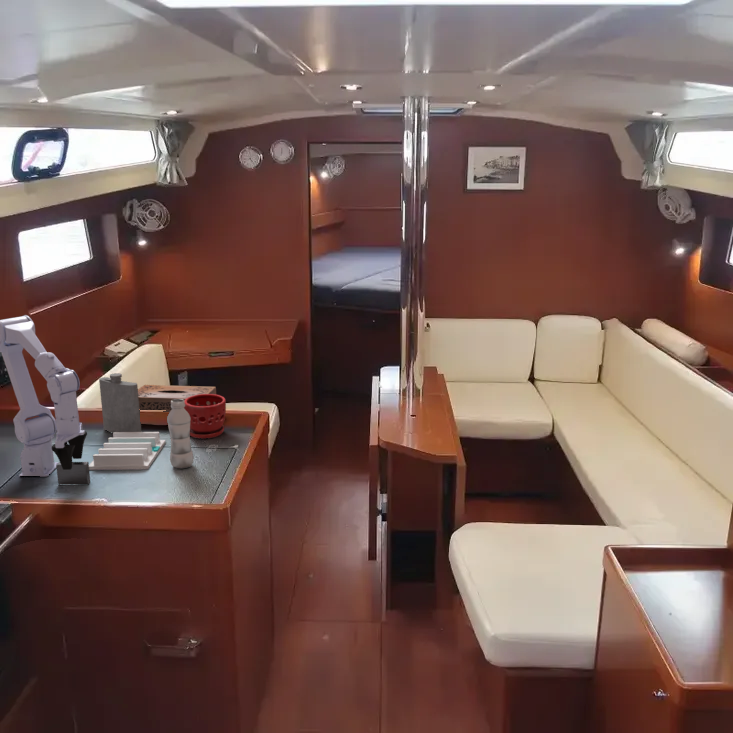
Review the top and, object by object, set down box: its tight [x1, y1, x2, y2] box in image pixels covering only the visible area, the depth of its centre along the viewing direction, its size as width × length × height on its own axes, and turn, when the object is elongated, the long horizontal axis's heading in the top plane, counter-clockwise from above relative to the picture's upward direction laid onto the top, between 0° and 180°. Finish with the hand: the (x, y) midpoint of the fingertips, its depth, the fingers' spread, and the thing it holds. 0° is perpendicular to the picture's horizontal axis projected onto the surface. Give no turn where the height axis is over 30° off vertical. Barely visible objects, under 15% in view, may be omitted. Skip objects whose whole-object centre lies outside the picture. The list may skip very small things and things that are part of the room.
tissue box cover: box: [138, 384, 217, 413], centre depth 255 cm, size 26×14×10 cm, turn 84°
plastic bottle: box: [167, 399, 195, 469], centre depth 212 cm, size 6×7×20 cm
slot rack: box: [89, 431, 166, 471], centre depth 222 cm, size 21×17×4 cm
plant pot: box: [184, 393, 227, 440], centre depth 239 cm, size 13×13×12 cm
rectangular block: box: [55, 461, 91, 485], centre depth 203 cm, size 2×8×6 cm, turn 91°
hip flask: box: [98, 372, 142, 434], centre depth 239 cm, size 16×4×20 cm, turn 60°
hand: (72, 463), depth 202 cm, fingers open, 7 cm apart
